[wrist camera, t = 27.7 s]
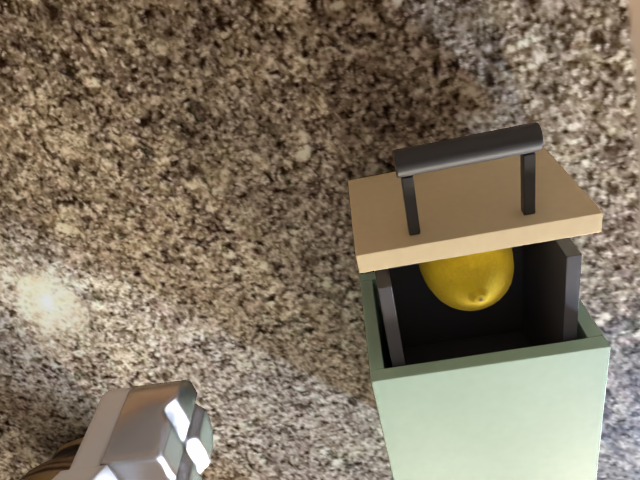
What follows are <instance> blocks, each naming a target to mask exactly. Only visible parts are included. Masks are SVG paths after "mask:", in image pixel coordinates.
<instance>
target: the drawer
mask: <svg viewBox="0 0 640 480" xmlns="http://www.w3.org/2000/svg"><path fill="white" fill-rule="evenodd" d="M393 160H394V166H395V171H396V172H391V173H386V174H380V175H375V176H370V177H365V178H359V179H354V180H349V181H348V188H349V197H350V207H351V217H352V227H353V237H354V246H355V256H356V261H357V265H358V270H359V273H364V272H370V271H375V276H376V282H377V289H378V294H379V299H380V304H381V310H382V315H383V320H384V325H385V330H386V335H387V340H388V346H389V351H390V356H391V361H392V366H393V367H399V366H406V365H413V364H419V363H426V362H433V361H439V360H446V359H453V358H459V357H466V356H473V355H479V354H486V353H493V352H499V351H506V350H512V349H519V348H526V347H532V346H539V345H546V344H552V343H559V342H566V341H572V340H576V339H577V323H578V306H579V290H580V274H581V257H582V254H581V253H580V252H579V250H578V249H577V247H576V246H575V245H574V243H573V242H572V241H571V239H570V238H569V237H574V236H580V235H586V234H592V233H598V232H601V228H602V216H603V212H602V211H601V210H600V209H599V208H598V207H597V206H596V204H595V203H594V202H593V201H592V200H591V199H590V198H589V197H588V196H587V194H586V193H585V192H584V191H583V190H582V189H581V188H580V187H579V185H578V184H577V183H576V182H575V181H574V180H573V179H572V178H571V177H570V175H569V174H568V173H567V172H566V171H565V170H564V169H563V168H562V167H561V165H560V164H559V163H558V162H557V161H556V160H555V159H554V158H553V156H552V155H551V154H550V153H549V152H548V151H547V150H546V149H545V148H544V146H543V136H542V131H541V128H540V126H539V124H538V123H536V122H535V123H530V124H525V125H519V126H514V127H509V128H504V129H499V130H494V131H489V132H484V133H478V134H473V135H468V136H463V137H458V138H453V139H448V140H443V141H437V142H432V143H427V144H422V145H417V146H412V147H407V148H402V149H396V150H393ZM510 247H511V248H512V252H513V260H514V273H513V278H512V283H511V285H510V287H509V289H508V290H507V292H506V293H505V294H504V296H503V297H502V298H501V299H500V300H499V301H497V302H496V303H495V304H493V305H491V306H489V307H487V308H484V309H481V310H475V311H465V310H458V309H455V308H452V307H450V306H448V305H446V304H445V303H443V302H442V301H440V300H439V299H438V298H437V297H436V296H435V295H434V293H433V292H432V291H431V290H430V289H429V287H428V286H427V284H426V282H425V280H424V278H423V276H422V273H421V271H420V268H419V263H422V262H428V261H434V260H440V259H446V258H452V257H457V256H463V255H469V254H475V253H481V252H487V251H493V250H498V249H504V248H510Z"/></svg>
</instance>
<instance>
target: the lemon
mask: <svg viewBox="0 0 640 480" xmlns="http://www.w3.org/2000/svg"><path fill="white" fill-rule="evenodd" d="M419 268H420V271H421V273H422V276H423V278H424V280H425V282H426V284H427V286H428V287H429V289H430V290H431V291H432V292H433V293H434V295H435V296H436V297H437V298H438V299H439V300H440V301H442V302H443V303H445V304H446V305H448V306H450V307H452V308H455V309H458V310H465V311H475V310H481V309H484V308H487V307H489V306H491V305H493V304H495V303H496V302H497V301H499V300H500V299H501V298H502V297H503V296H504V294H505V293H506V292H507V290H508V289H509V287H510V285H511V283H512V278H513V273H514V260H513V252H512V248H511V247H510V248H504V249H498V250H493V251H487V252H481V253H475V254H469V255H463V256H457V257H452V258H446V259H440V260H434V261H428V262H422V263H419Z"/></svg>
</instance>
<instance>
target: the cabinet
mask: <svg viewBox="0 0 640 480" xmlns="http://www.w3.org/2000/svg"><path fill="white" fill-rule="evenodd" d="M360 284H361V293H362V303H363V312H364V321H365V330H366V340H367V349H368V358H369V368H370V377H371V384H372V388H373V392H374V397H375V401H376V406H377V410H378V414H379V419H380V423H381V427H382V432H383V436H384V441H385V445H386V449H387V454H388V458H389V462H390V467H391V471H392V475H393V480H596V476H597V467H598V457H599V448H600V439H601V430H602V420H603V411H604V402H605V392H606V383H607V374H608V365H609V355H610V345H609V343H608V342H607V340H606V338H605V337H604V336H603V334H602V333H601V331H600V330H599V328H598V326H597V325H596V323H595V322H594V320H593V319H592V317H591V316H590V314H589V313H588V311H587V309H586V308H585V306H584V305H583V303H582V302H581V300H580V299H579V306H578V323H577V339H576V340H572V341H566V342H559V343H552V344H546V345H539V346H532V347H526V348H519V349H512V350H506V351H499V352H493V353H486V354H479V355H473V356H466V357H459V358H453V359H446V360H439V361H433V362H426V363H419V364H413V365H406V366H399V367H393V366H392V361H391V356H390V351H389V346H388V340H387V335H386V330H385V325H384V320H383V315H382V310H381V304H380V299H379V294H378V289H377V282H376V276H375V272H373V273H367V274H361V275H360Z"/></svg>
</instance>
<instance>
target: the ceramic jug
mask: <svg viewBox="0 0 640 480" xmlns="http://www.w3.org/2000/svg"><path fill="white" fill-rule="evenodd" d="M82 440H83V438H79V439H76V440H73V441H71V442H68V443H65V444H63V445H62V446H60V448H59V449H58V450H57V452H56V453H55V454H54V456H53V458H52V459H51V460H49V461H47V462H45V463H43V464H41V465H39V466H37V467H35V468H34V469H32V470H31V471H29V472H28V473H27V474H26V475H24V476H23V477H22V478H21V479H20V480H52V479H53V478H54V477H55V476H56V475H57V474H58V473H60V472H61V471H64V470H69V469H70V467H71V465H72V462H73V460H74V458H75V456H76V453H77V451H78V449H79V447H80V445H81V442H82Z"/></svg>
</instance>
